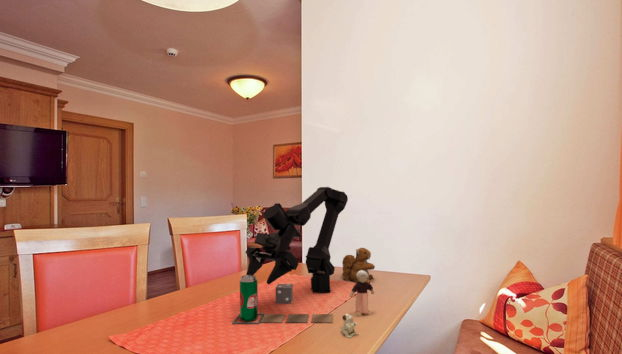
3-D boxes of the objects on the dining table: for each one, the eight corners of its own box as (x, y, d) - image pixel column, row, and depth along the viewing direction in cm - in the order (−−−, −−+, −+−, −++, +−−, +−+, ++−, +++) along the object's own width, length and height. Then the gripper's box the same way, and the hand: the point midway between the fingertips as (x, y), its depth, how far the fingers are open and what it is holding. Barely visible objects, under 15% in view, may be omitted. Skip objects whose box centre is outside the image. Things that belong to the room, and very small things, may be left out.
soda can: (249, 323, 92) (249, 279, 93) (236, 320, 95) (235, 277, 96) (261, 317, 97) (261, 275, 97) (248, 314, 99) (248, 273, 100)
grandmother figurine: (356, 318, 94) (355, 273, 95) (348, 314, 98) (347, 270, 99) (378, 313, 98) (376, 269, 99) (370, 309, 101) (368, 267, 102)
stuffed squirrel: (370, 284, 129) (369, 250, 130) (336, 281, 135) (335, 248, 136) (377, 278, 138) (376, 246, 139) (345, 275, 144) (344, 245, 145)
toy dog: (350, 339, 81) (349, 318, 82) (337, 332, 85) (336, 312, 85) (360, 335, 83) (360, 314, 84) (347, 329, 87) (347, 309, 88)
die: (292, 298, 114) (292, 283, 114) (290, 303, 109) (290, 287, 109) (278, 298, 114) (277, 283, 114) (275, 303, 109) (275, 287, 109)
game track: (332, 314, 98) (332, 313, 98) (332, 324, 91) (332, 323, 91) (239, 314, 100) (239, 313, 100) (232, 324, 92) (232, 323, 92)
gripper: (249, 221, 110) (221, 261, 101) (291, 224, 98) (263, 268, 89) (267, 243, 115) (242, 282, 106) (309, 247, 104) (284, 292, 94)
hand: (256, 281), depth 99 cm, fingers open, 9 cm apart
